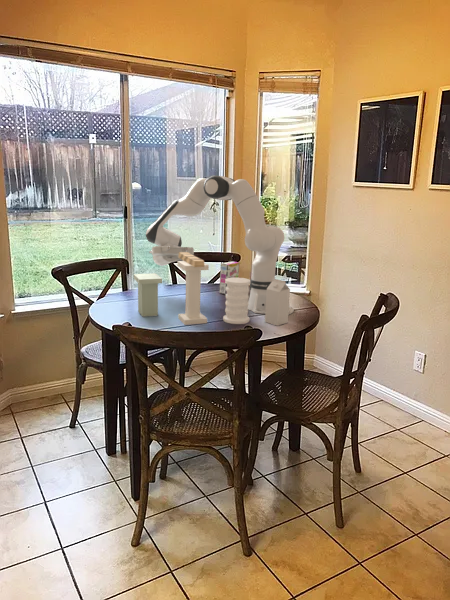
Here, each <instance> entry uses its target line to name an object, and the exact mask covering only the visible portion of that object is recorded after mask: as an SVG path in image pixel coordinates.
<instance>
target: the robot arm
mask: <svg viewBox="0 0 450 600" xmlns="http://www.w3.org/2000/svg"><path fill="white" fill-rule="evenodd" d="M211 199H213V200H219V201H231V200H232V202H233V203H234V205H235V208H236V210H237V212H238V213H239V216H240V218H241V219H242V223H243V225H244V226H243V227H244V231H245V236H244V244H245V247H246V248H247V249H248V250H249V251H252V252H256V255H255V257H254V259H253V261H252V263H251V276H250V277H251V278H250V279H249V280H250V284H249V293H250V294H249V299H248V303H249V305H248V311H251V312H253V313H255V314H262V315H263V314H264V315H265V312H266V294H267V288H268V286H269V285H270V283H271V282H272V279H276V269H277V268H276V267H277V261H278V257H279V254H280V250H281V248H282V247H281V246H282V245H283V243H284V242H285V232H284V231H283V230H282V229H281V228H280V227H278V226H275V225H274V226H273V225H270V226H267V224H266V221H265V220H266V219H265V208H264V207H263V205H262V202H261V201H260V199H259V197H258V195H257V194H256V192H255V190H254V188H253V187H252V185H251V184H250V183H249V181H248V180H247V179H244V178H239V179H236V180H235V179H233V178H230V177H227V176H224V175H223V176H222V175H211V176H209V177H206V178H205V177H200V178H198V179H197V180H196V181H195V182H194V183H193V184H192V186H191V187H190V188H189V189H188V191H187V193H186V194H185V195H184V196H183V197H181V198H180V199H174V200H173V201H172V202H171V203H170V204H168V206H167V207H166V208H165V209H164V210H163V212H162V213H161V214H160V215H159V216H158V217H157V218H156V220H154V222H152V223H151V225H149V226H148V228H147V230H146V232H145V238H146V239H147V241H148V243H152V244H154V246H152V247H151V250H149V251H148V252H149V254H151V255H152V261H153V262H154V264H156V266H157V265H158V266H160V267H161V266H162V267H163V266H166V265H168V264H170V263H175V262H177V261H183V260H182V259H180V258H179V252H188V253H190V254H192V255H194V256H195V251H194V250H195V249H194V247H193V246H192V247H190V246H182V244H183V242H182V238H181V235H180V234H177V233H176V232H174V231H172V230H170V229H168V228H166V227H164V225H165V224H166V223H167V222H168V221H169V220H170V219H171V218H172V217H174V216H176V215H177V216H186V217H187V216H188V217H195V216H197V215H199V214H201V213H202V212H203V211H204V210H205V208H206V206H207V205H208V203H209V202H210V200H211ZM290 303H291V302H289V312H288V316H289V315H291V314H293V313H294V311H295V308H294V306H291V305H290Z"/></svg>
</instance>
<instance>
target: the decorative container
mask: <svg viewBox="0 0 450 600" xmlns="http://www.w3.org/2000/svg"><path fill="white" fill-rule="evenodd" d="M250 280H251V279H249V278H246V277H245V278H244V277H238V278H227V279H225V283H226V284H227V287H226V291H227V294H226V295H225V303H224V304H225V309H224V313H225V314H224V315H223V316H222V321H223V322H225V323H227V324H232V325H244V324H247V323H250V317H249V316H248V313H249V309H248V305H249V303H248V301H249V297H250V294H249V293H250Z"/></svg>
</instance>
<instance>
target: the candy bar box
mask: <svg viewBox="0 0 450 600" xmlns="http://www.w3.org/2000/svg"><path fill="white" fill-rule="evenodd" d="M239 270H240V262H239V261H238V262H237V261H228V262H221V263H220V271H219V273H220V274H219V290H218V291H219V293H218V294H222V295H225V296H226V294H227V291H226V287H227V284H226V283H225V279H227V278H239V272H240V271H239Z"/></svg>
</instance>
